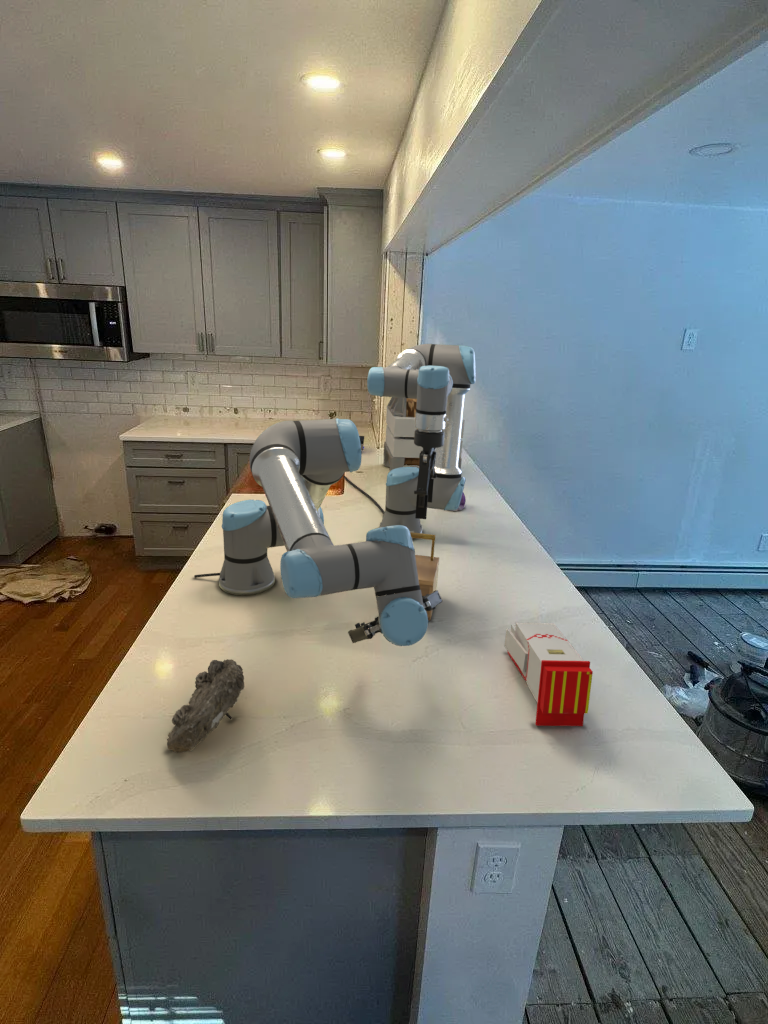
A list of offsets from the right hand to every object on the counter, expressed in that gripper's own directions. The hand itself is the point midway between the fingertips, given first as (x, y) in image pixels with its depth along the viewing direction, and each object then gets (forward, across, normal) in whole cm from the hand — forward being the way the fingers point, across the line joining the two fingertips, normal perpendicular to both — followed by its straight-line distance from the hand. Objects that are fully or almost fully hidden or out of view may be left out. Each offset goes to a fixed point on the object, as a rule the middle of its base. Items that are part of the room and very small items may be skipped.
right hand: (424, 509), depth 149 cm
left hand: (+14, -33, +2) cm, 35 cm away
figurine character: (+25, +157, +54) cm, 167 cm away
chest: (+25, -5, 0) cm, 26 cm away
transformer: (+25, +124, +15) cm, 128 cm away
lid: (+15, -5, 0) cm, 16 cm away
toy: (+25, -33, -31) cm, 51 cm away
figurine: (+25, +78, -5) cm, 82 cm away
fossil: (+25, -59, +32) cm, 72 cm away
